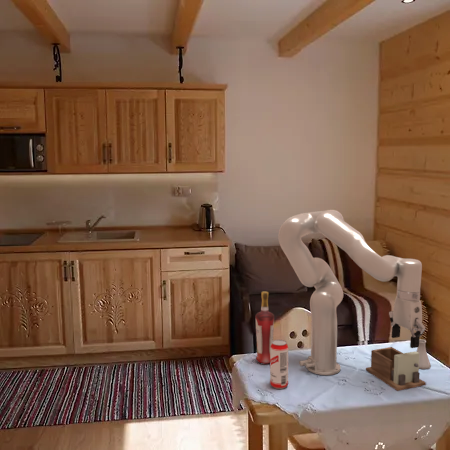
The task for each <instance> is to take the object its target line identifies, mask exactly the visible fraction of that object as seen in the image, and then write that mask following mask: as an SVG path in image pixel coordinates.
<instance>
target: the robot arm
mask: <svg viewBox="0 0 450 450" xmlns="http://www.w3.org/2000/svg"><path fill="white" fill-rule="evenodd" d="M314 234H321V235H323V236H324V237H325V238H327V239H328V240H329V241H331V242H332V243H334V244H335V245H336V246H337V247H339V249H341V250H342V251H344V252H345V253H346V254H347V255H348V257H349V258H350V259H351V260H353V262H354V263H355V264H356V265H357V266H358V267H359V268H360V269H362V270H363V271H364V272H366V273H367V274H368V275H369V276H371V277H372V278H374V279H375V280H377V281H380V282H383V283H384V282H385V283H386V282H389V281H391V280H392V279H394V278H395V277H397V283H396V284H397V285H396V296H395V299H394V304H393V310H391V311H389V312H388V316H389V320H390V326H391V338H392V339H396V338H401V327H402V328H404V329H406V330H408V331H409V332H410V334H411V336H410V341H409V348H410V349H416V348H418V347H419V339H420V337H422V335H423V334H424V332H425V330H426V326H425V325H424V324H423V307H422V301H421V300H420V299H421V285H422V270H423V265H422V262H421V261H420V260H419V259H417V258H416V259H415V258H402V257H398V256H394V255H390V254H386V255H383V256H381V255H379V253H377V252H375V251H374V250H373V249H372V248H371V247H370V246H369V245H368V243H367V242H366V239H365V238H364V236H363V234H362V233H361V232H360V231H359V230H357V229H356V228H354V227H353V226H351V225H350V224H349V223H348V222H346V221H345V218H344V217H343V214H342V213H341V212H340V211H338V210H336V209H327V210H326V209H325V210H320V211H319V210H318V211H310V212H301V213H299V214H298V213H297V214H295V215H293V216H290V217H288V218H287V219H286V220H285V221H283V223H282V224H281V225H280V228H279V230H278V236H277V237H278V243H279V245H280V248H281V250H282V251H283V253H284V254H285V256H286V258H287V259H288V262H289V264H290V266H291V267H292V269H293V270H294V272H295V274H296V276H297V278H298V280H299V281H300V283H301V284H302V285H303V286H304V287H308V288H313V287H314V288H315V290H314V291H313V293H312V294H311V296H310V300H309V308H310V319H311V323H310V325H311V327H310V328H311V330H310V331H311V332H310V334H311V335H310V336H311V337H310V339H311V340H310V342H311V343H310V345H311V346H310V355H308V356H307V357H308V358H307V359H306V360H300V361H298V364H299V367H304V366H305V368H306V369H307V371H309V372H310V373H312V374H316V375H320V376H331V375H336V374H338V373H340V372H341V365H340V364H339V363H338V362H337V357H338V356H337V352H338V351H337V350H338V317H337V316H338V315H337V308H338V306H339V305H340V304H341V302H342V301H343V300H344V299H343V298H344V290H343V287H342V286H341V284H340V282H339V281H338V278H337V277H336V275H335V274H334V271H333V270H332V269H331V267H330V265H329V264H328V262H326V261H325V260H324V259H323V258H320V257H313V255H312V253H311V251H310V250H309V248H308V246H307V245H306V244H305V243H304V242H303V240H302V238H303V237H305V236H307V235H314Z"/></svg>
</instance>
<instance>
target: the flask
mask: <svg viewBox="0 0 450 450" xmlns="http://www.w3.org/2000/svg"><path fill="white" fill-rule="evenodd" d="M426 344H427V340H426V339H421V338H419V347H417V349H416V350H415V351H416V352H418V353H419V369H421V370H430V369H431V366H432V365H431V361H430V359H429V356H428V352H427V350H426Z"/></svg>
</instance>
